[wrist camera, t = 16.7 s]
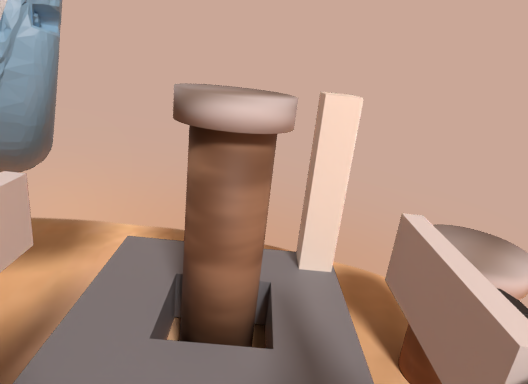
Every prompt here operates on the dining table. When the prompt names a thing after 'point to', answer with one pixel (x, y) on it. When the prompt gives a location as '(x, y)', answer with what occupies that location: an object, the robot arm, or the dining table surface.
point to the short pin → (491, 266)
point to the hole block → (267, 311)
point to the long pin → (226, 205)
